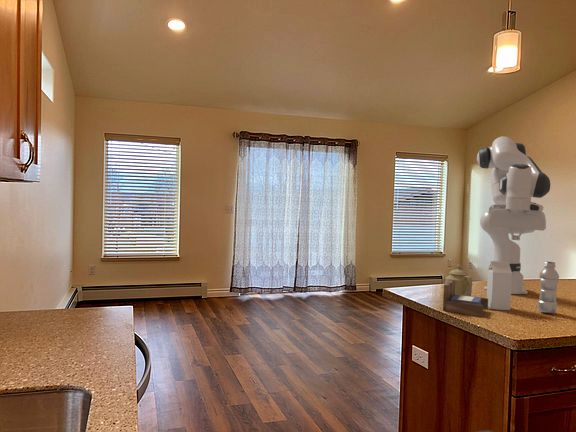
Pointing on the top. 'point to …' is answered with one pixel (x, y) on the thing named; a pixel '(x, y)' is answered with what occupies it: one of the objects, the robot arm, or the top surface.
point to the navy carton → (466, 299)
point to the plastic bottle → (548, 288)
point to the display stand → (460, 306)
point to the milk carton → (499, 285)
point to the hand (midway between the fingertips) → (515, 240)
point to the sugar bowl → (461, 281)
